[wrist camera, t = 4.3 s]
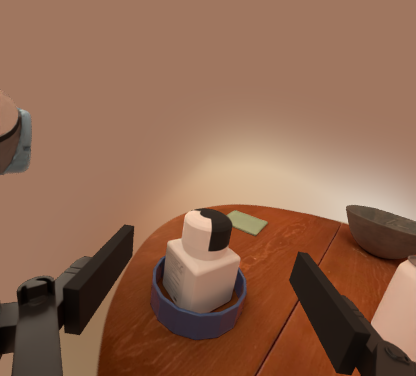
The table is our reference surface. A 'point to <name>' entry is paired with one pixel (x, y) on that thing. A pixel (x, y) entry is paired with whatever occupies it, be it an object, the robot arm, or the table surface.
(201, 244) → the container
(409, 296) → the can
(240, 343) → the table surface
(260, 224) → the mat
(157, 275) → the ring
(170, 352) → the table surface
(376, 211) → the bowl
